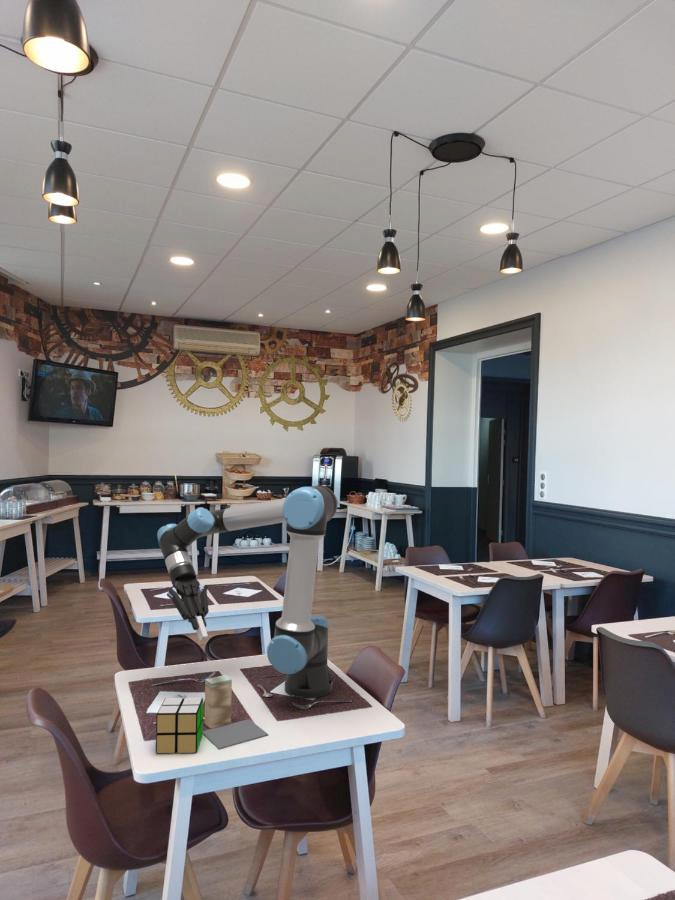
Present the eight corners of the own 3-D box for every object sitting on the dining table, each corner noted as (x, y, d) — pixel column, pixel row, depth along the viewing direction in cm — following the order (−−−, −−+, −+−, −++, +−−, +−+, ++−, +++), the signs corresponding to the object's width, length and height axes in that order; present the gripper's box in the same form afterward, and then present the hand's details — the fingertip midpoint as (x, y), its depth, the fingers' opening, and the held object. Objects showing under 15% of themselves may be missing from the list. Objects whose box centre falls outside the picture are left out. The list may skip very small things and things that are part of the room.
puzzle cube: (164, 735, 158) (164, 697, 159) (202, 735, 159) (203, 696, 159) (155, 754, 148) (156, 713, 149) (196, 753, 149) (197, 713, 149)
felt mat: (249, 720, 168) (249, 719, 168) (268, 735, 159) (268, 734, 159) (201, 732, 160) (201, 731, 160) (218, 749, 151) (218, 748, 151)
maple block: (224, 718, 170) (225, 674, 170) (231, 723, 166) (231, 679, 166) (204, 723, 166) (205, 679, 166) (210, 728, 163) (211, 683, 163)
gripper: (195, 574, 194) (218, 641, 181) (156, 578, 185) (178, 648, 173) (204, 561, 190) (228, 628, 177) (165, 564, 181) (187, 635, 169)
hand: (203, 638), depth 175 cm, fingers closed
